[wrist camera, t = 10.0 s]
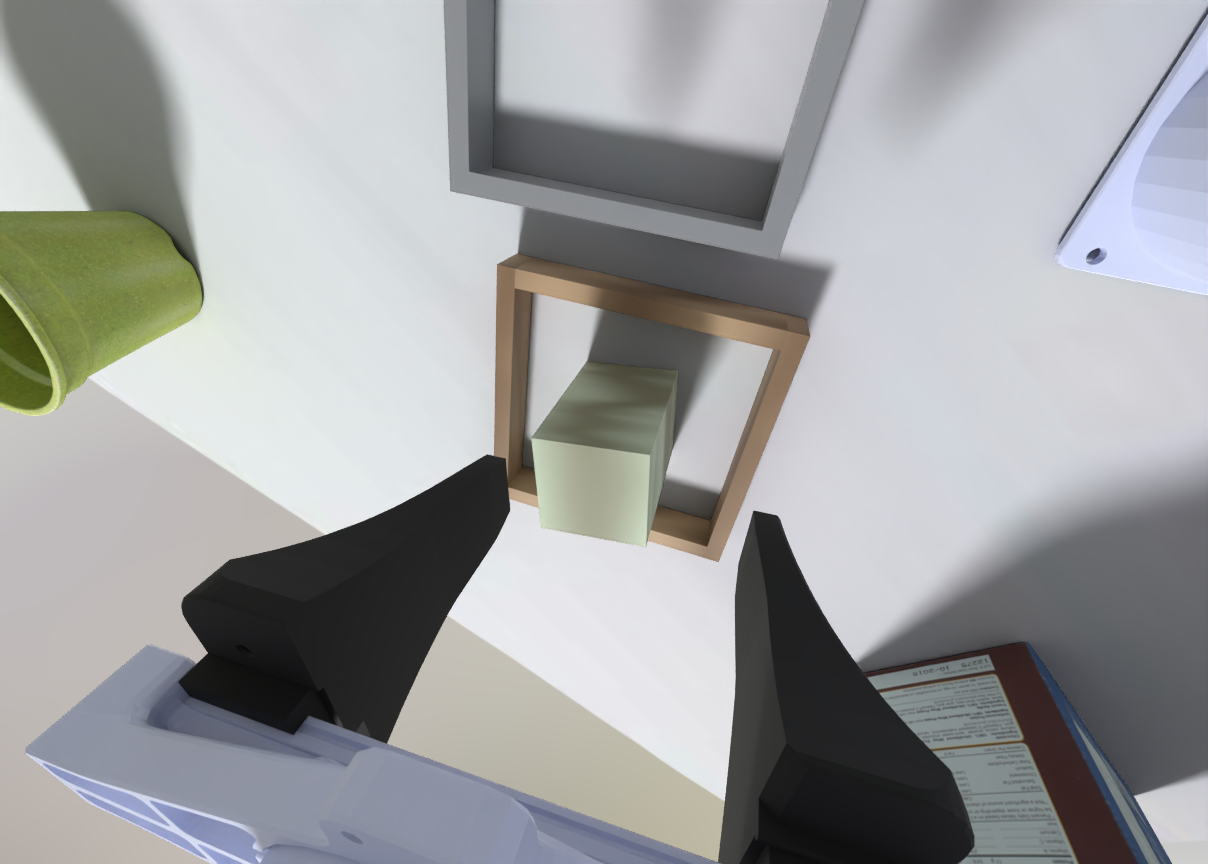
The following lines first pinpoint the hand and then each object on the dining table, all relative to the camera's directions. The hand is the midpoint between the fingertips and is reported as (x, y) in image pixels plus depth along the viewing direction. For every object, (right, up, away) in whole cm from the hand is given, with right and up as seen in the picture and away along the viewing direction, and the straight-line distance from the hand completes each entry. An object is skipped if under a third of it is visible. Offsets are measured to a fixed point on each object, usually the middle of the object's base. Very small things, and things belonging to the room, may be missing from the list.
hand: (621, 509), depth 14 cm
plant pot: (-26, +12, +14) cm, 31 cm away
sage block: (+1, +3, +10) cm, 11 cm away
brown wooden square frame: (+1, +3, +10) cm, 11 cm away
